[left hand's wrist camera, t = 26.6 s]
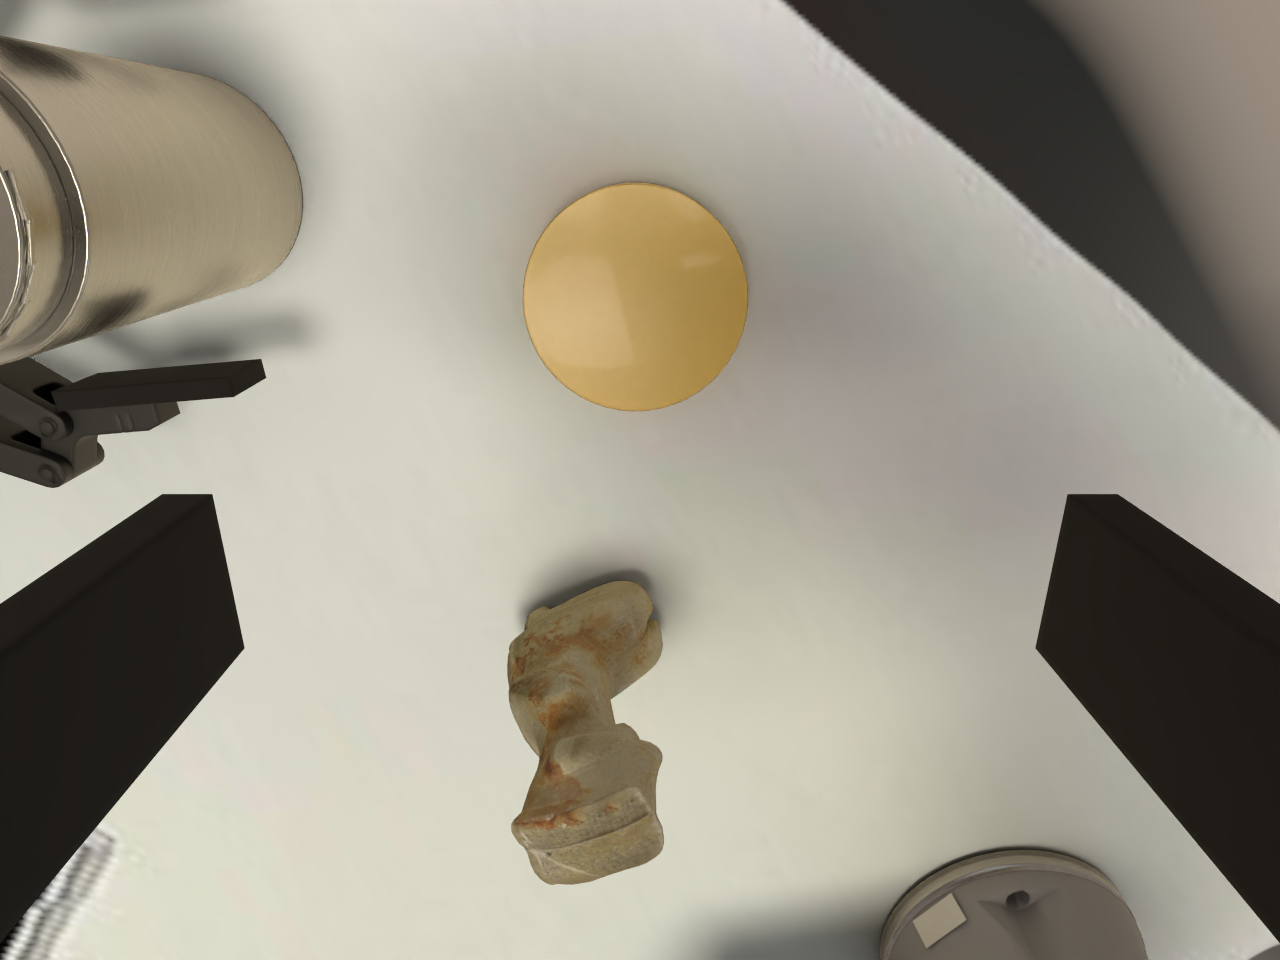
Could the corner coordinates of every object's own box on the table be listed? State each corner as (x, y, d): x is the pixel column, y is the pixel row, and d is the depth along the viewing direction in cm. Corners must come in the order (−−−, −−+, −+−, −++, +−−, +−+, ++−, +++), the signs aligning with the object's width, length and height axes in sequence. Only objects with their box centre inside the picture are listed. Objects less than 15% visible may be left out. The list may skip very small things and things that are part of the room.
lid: (749, 184, 34) (756, 186, 32) (734, 399, 37) (740, 413, 35) (526, 179, 33) (518, 180, 31) (532, 395, 37) (526, 409, 35)
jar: (129, 297, 35) (-245, 398, 20) (64, 80, 32) (-438, 10, 17) (322, 283, 35) (87, 375, 20) (276, 63, 32) (-45, -21, 17)
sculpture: (671, 651, 42) (688, 895, 28) (541, 681, 43) (494, 934, 29) (642, 555, 40) (644, 768, 26) (505, 589, 40) (436, 814, 27)
